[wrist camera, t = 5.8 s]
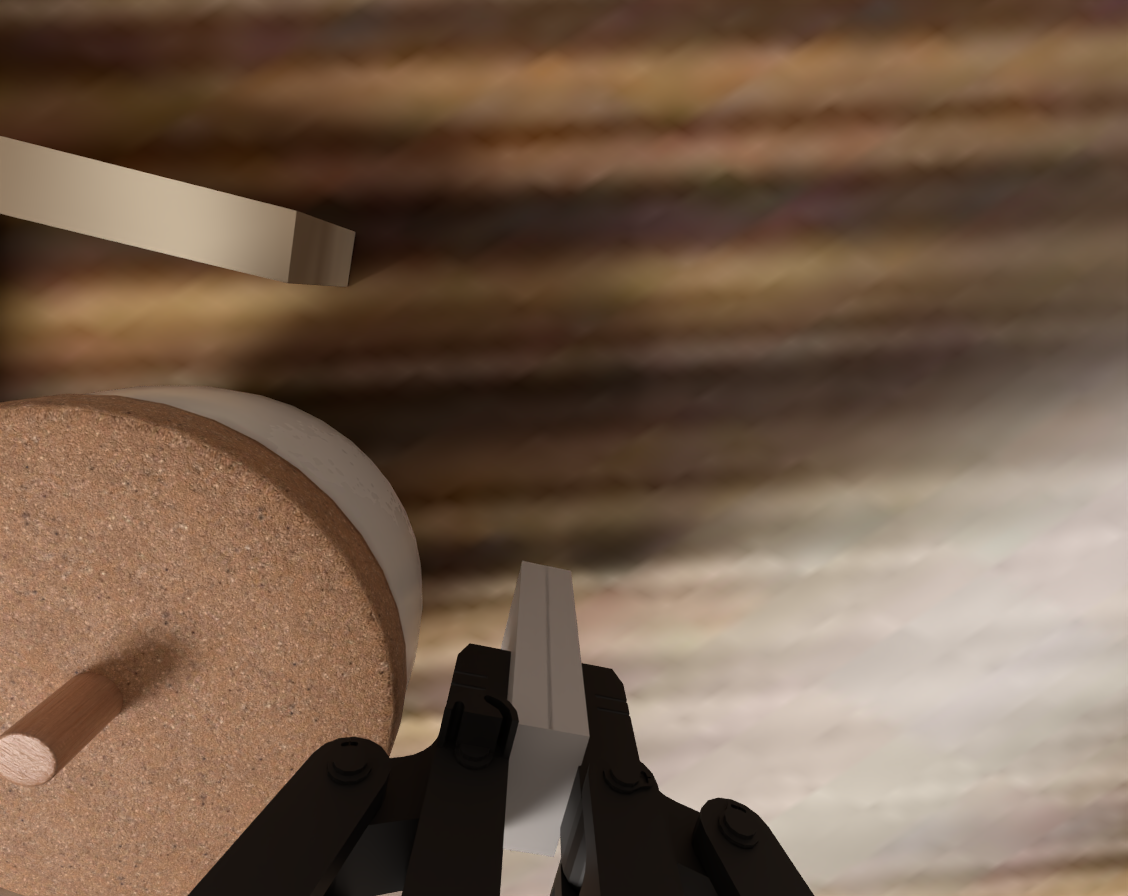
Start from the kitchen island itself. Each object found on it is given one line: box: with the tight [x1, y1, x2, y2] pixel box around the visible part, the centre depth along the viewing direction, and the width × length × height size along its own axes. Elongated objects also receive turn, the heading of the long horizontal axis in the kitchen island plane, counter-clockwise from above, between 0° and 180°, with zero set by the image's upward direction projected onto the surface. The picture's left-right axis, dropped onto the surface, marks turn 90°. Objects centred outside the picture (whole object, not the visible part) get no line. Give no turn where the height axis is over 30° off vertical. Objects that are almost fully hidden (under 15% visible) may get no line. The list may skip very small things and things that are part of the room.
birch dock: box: [0, 136, 355, 287], centre depth 16 cm, size 12×18×4 cm
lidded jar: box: [0, 385, 423, 896], centre depth 14 cm, size 11×11×9 cm
